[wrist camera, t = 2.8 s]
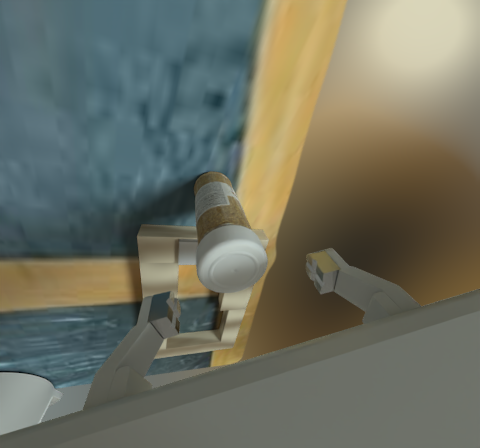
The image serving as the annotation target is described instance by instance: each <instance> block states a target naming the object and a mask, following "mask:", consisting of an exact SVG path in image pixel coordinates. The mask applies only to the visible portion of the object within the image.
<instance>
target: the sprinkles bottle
mask: <svg viewBox="0 0 480 448" xmlns="http://www.w3.org/2000/svg"><path fill="white" fill-rule="evenodd" d="M194 194H195V196H196V197H195V214H196V231H197V237H198V247H197V250H196V267H197V275H198V278H199V280H200V282H201V283H202V284H203V285H204V286H205V287H206V288H208V289H210V290H212V291H215V292H219V293H233V292H238V291H241V290H244V289H247V288H249V287H250V286H252V285H253V284H255V283H256V282H257V281H258V280H259V279H260V278H261V277H262V276H263V274H264V272H265V270H266V267H267V255H266V252H265V250H264V248H263V245H262V243H261V241H260V239H259V238H258V236H257V235H256V234H255V233H254V232H253V231H252V229H251V227H250V225H249V223H248V220H247V218H246V216H245V213H244V210H243V208H242V206H241V204H240V202H239V200H238V198H237V196H236V193H235V192H234V190H233V189H232V185H231V182H230V180H229V179H228V178H227V177H226V176H225V175H223V174H222V173H219V172H207V173H205V174H203V175H201V176H200V177H199V178H198V179H197V181H196V183H195V186H194Z"/></svg>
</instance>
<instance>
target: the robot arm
mask: <svg viewBox="0 0 480 448" xmlns="http://www.w3.org/2000/svg"><path fill="white" fill-rule="evenodd" d="M306 259H307V261H308V262H307V263H306V271H307V274H308V276H309V277H310V278H311V279H312V280H313V281H315V287H316V288H317V290H318V291H319V293H320V294H323V293H327V292H331V291H334V292H336V293H337V294H339V295H341V296H342V297H344V298H346V299H347V300H348V301H350V302H351V303H353V304H355V305H356V306H358V307H360V308H361V309H362V310H364V311H365V312H366V313H365V315H364V318H363V323H364V324H363V325H360V326H356V327H353V328H350V329H346V330H343V331H340V332H337V333H333V334H330V335H327V336H324V337H320V338H317V339H314V340H310V341H307V342H304V343H301V344H297V345H294V346H291V347H287V348H284V349H281V350H278V351H275V352H271V353H268V354H265V355H261V356H258V357H255V358H251V359H248V360H245V361H242V362H238V363H235V364H232V365H228V366H225V367H222V368H219V369H216V370H212V371H209V372H206V373H202V374H199V375H196V376H193V377H190V378H186V379H183V380H179V381H176V382H173V383H170V384H166V385H163V386H160V387H157V388H153V389H152V385H151V383H150V382H148V381H147V380H146V379H144V376H145V374H146V373H147V371H148V369H149V367H150V365H151V363H152V361H153V360H154V358H155V356H156V354H157V352H158V350H159V349H160V347H161V345H162V343H163V341H164V339H166V338H169V337H173V336H176V335H179V330H180V322H179V320H178V318H179V316H180V312H181V310H180V304H179V301H178V299H177V298H174V297H175V294H174V292H173V291H168V292H164V293H160V294H156V295H152V296H148V297H145V298H144V299H143V301H142V305H141V309H140V313H139V317H138V321H137V325H136V326H134V327H133V328H132V329H131V330H130V332H129V333H128V334H127V335H126V337H125V338H124V339H123V340H122V342H121V343H120V344H119V345H118V347H117V348H116V349H115V350H114V352H113V353H112V354H111V355H110V357H109V358H108V359H107V360H106V362H105V363H104V364H103V365H102V366H101V368H100V369H99V370H98V371H97V373H96V374H95V377H94V379H93V382H92V385H91V388H90V391H89V394H88V397H87V400H86V402H85V405H84V407H83V410H81V411H78V412H75V413H72V414H69V415H65V416H62V417H59V418H55V419H52V420H49V421H45V422H42V423H40V422H41V420H42V418H43V416H44V414H45V412H46V410H47V408H48V407H49V406H51V405H52V404H54V403H56V402H58V401H59V400H60V399H61V397H62V395H63V393H62V392H60V391H58V390H56V389H55V388H54V387H53V385H52V383H51V382H49V381H48V380H46V379H44V378H41V377H38V376H34V375H30V374H23V373H9V372H0V448H480V289H477V290H474V291H471V292H468V293H464V294H461V295H458V296H455V297H451V298H448V299H445V300H441V301H438V302H435V303H431V304H429V305H425V306H422V307H421V306H420V305H419V304H418V303H417V302H416V301H415V300H414V299H412V297H411V296H409V295H408V294H407V293H406V292H405V291H404V290H403V289H402V288H400V287H399V286H398V285H396V284H393V283H391V282H388V281H386V280H384V279H381V278H379V277H377V276H374V275H372V274H369V273H367V272H364V271H362V270H360V269H357V268H355V267H350V266H348V264H347V263H346V262H345V261H344V260H343V259H342V258H341V257H340V256H339V255H338V254H337V253H336V252H335V251H334V250H333V249H332V248H330V249H326V250H322V251H318V252H315V253H311V254H308V255H307V258H306Z"/></svg>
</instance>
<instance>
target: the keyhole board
mask: <svg viewBox="0 0 480 448" xmlns="http://www.w3.org/2000/svg"><path fill="white" fill-rule="evenodd" d="M252 231H253V232H254V233H255V234H256V235H257V236H258V238H259V239H260V241H261V243H262V245H263V248H264V250H266V247H267V244H268V241H269V239H268V238H267V236H266V234H265V232H264V231H263V230H262V229H252ZM137 242H138V252H139V263H140V273H141V283H142V294H143V299H144V298H145V297H148V296H152V295H156V294H160V293H164V292H168V291H173V292H174V294H175V297H174V298H177V292H178V269H179V265H196V250H197V247H198V237H197V231H196V227H194V226H171V225H148V224H141V227H140V230H139V232H138V235H137ZM253 286H254V284H253V285H252V286H250V287H249V288H247V289H244V290H241V291H238V292H233V293H219V298H218V299H219V306H220V311H223V315H222V319H221V323H220V327H219V329H217V330H208V331H199V332H190V333H181V334H179V335H176V336H173V337H169V338H166V339H164V341H163V343H162V345H161V347H160V349H159V350H158V352H157V354H156V356H155V358H154V359H156V358H163V357H171V356H178V355H185V354H192V353H199V352H206V351H213V350H220V349H227V348H233V346H234V343H235V340H236V337H237V334H238V331H239V328H240V325H241V322H242V319H243V316H244V313H245V310H246V307H247V304H248V301H249V298H250V295H251V292H252V289H253Z"/></svg>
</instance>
